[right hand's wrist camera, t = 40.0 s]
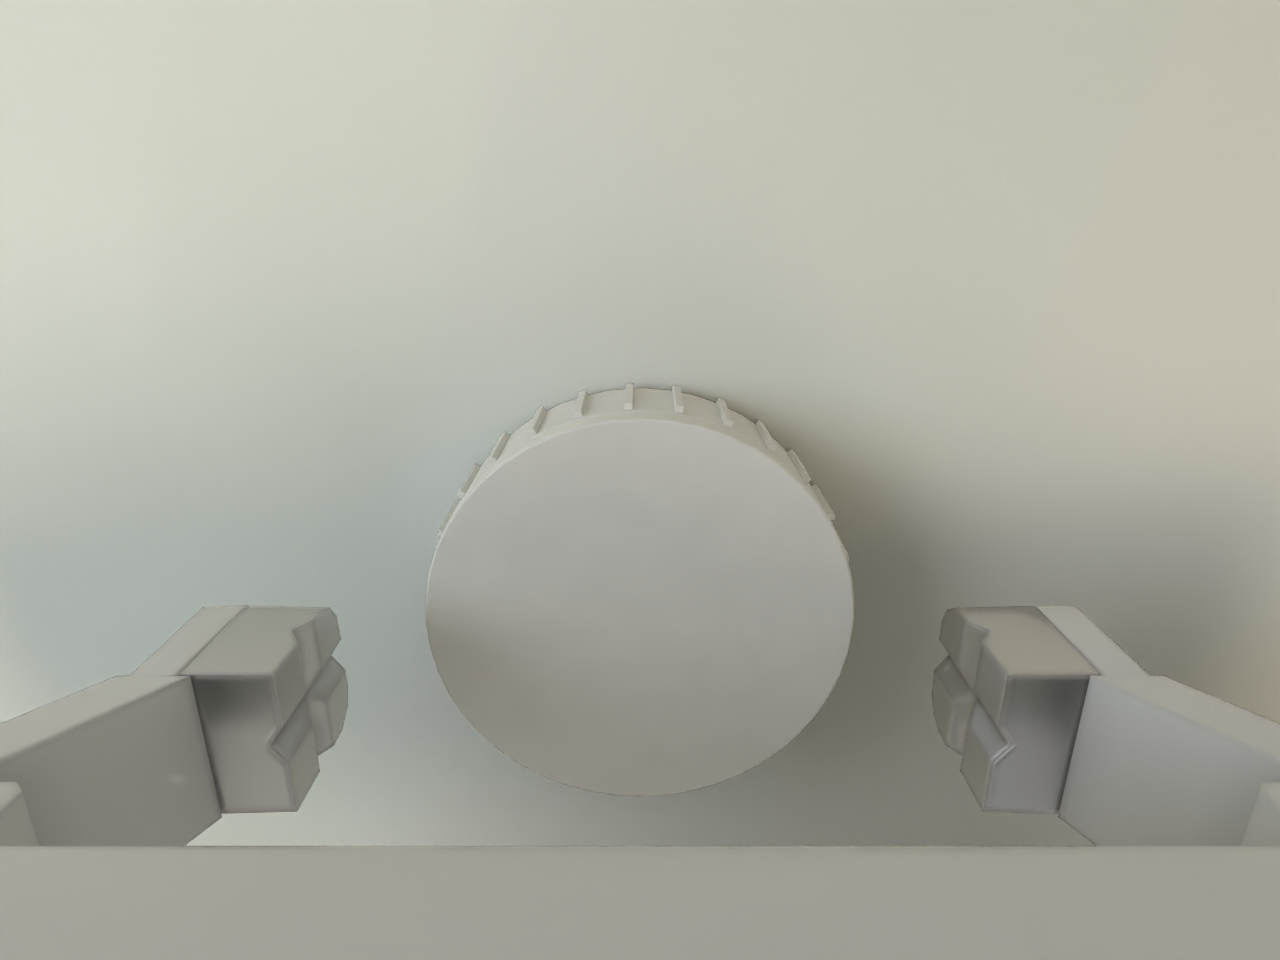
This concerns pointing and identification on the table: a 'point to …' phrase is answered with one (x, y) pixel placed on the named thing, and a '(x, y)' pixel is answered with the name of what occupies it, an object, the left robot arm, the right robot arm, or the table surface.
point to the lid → (639, 594)
